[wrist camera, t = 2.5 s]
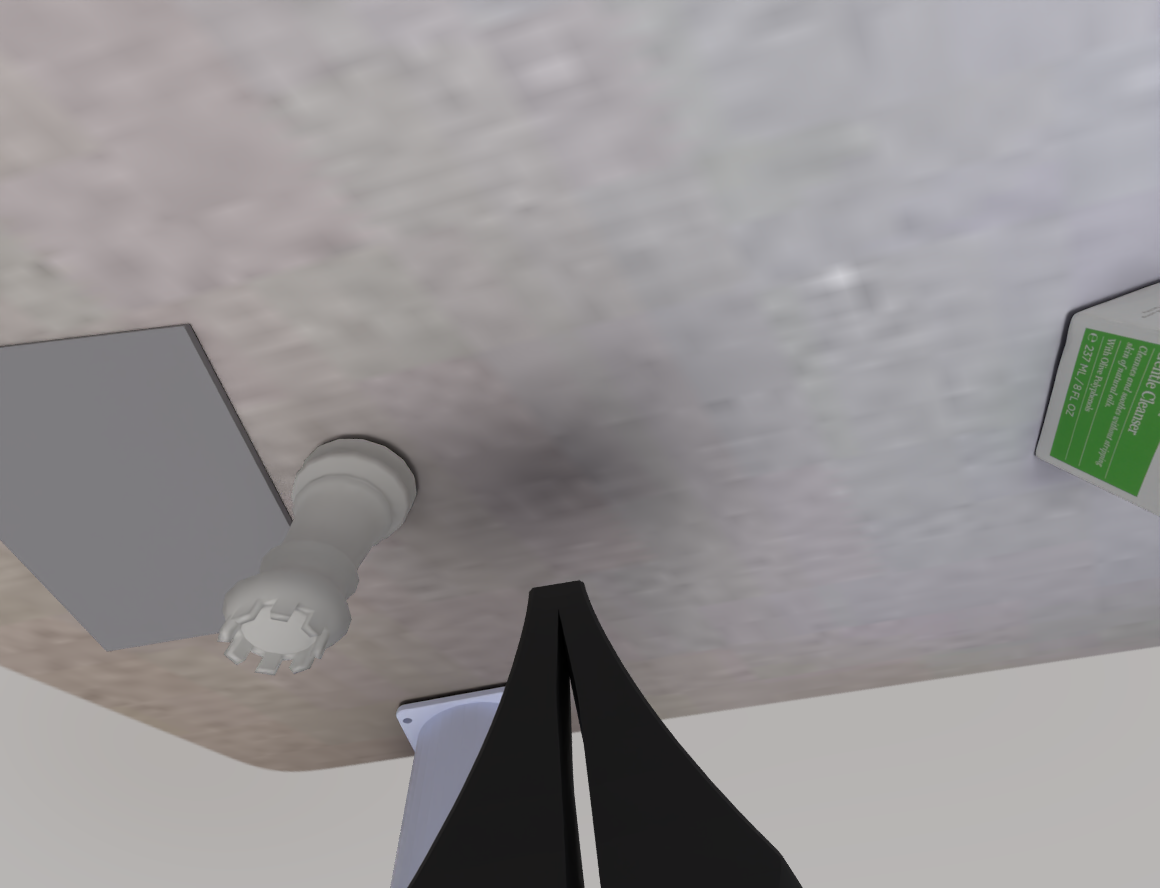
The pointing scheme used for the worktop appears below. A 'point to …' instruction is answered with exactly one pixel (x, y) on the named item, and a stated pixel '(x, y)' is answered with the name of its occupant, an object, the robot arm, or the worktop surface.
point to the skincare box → (1110, 399)
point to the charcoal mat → (131, 483)
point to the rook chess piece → (318, 555)
